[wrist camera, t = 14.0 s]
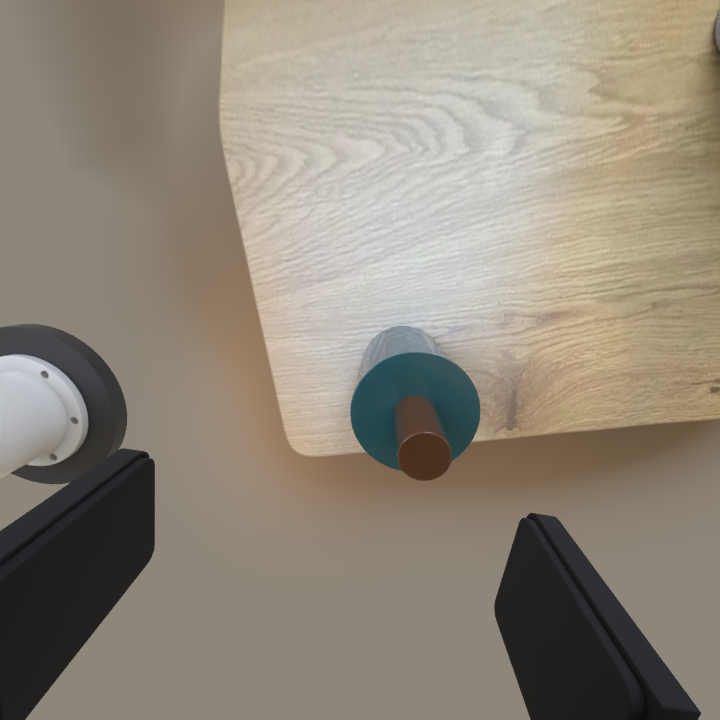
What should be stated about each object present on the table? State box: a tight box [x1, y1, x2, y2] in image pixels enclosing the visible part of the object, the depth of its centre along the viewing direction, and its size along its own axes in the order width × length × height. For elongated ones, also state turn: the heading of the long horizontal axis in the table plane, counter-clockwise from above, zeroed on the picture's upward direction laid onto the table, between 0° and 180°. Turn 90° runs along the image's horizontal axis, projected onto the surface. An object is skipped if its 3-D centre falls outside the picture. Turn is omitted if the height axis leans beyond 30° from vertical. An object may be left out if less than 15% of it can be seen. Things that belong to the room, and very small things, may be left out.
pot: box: [359, 326, 447, 381], centre depth 30 cm, size 8×8×12 cm
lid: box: [350, 350, 480, 481], centre depth 21 cm, size 9×9×7 cm
